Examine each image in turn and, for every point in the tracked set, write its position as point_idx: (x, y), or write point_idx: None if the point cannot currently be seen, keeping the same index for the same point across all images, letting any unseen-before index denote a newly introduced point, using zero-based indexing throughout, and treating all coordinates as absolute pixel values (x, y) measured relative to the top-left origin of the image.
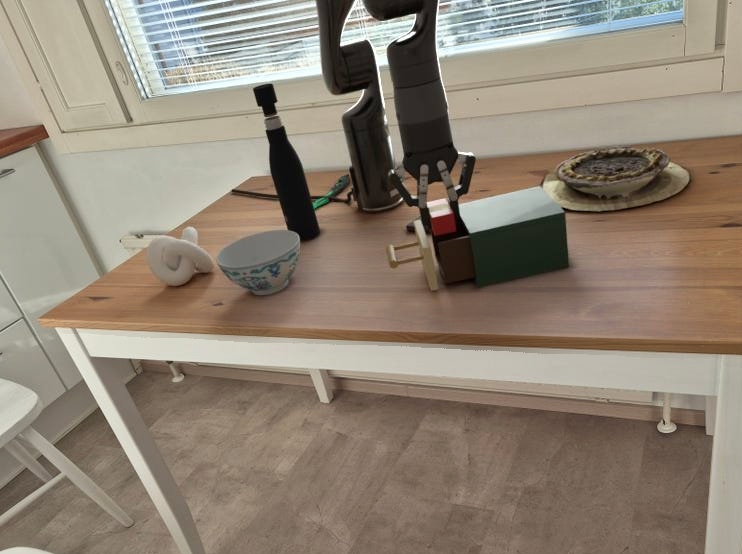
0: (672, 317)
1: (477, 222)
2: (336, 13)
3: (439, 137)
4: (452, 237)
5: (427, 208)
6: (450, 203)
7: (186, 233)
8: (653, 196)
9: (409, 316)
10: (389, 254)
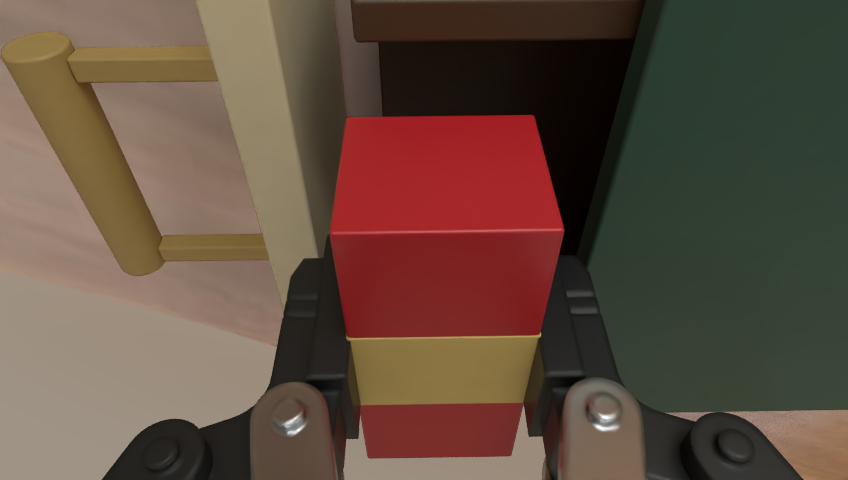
0: (797, 432)
1: (636, 347)
2: None
3: None
4: None
5: (347, 432)
6: (533, 430)
7: None
8: None
9: (252, 283)
10: (86, 201)
